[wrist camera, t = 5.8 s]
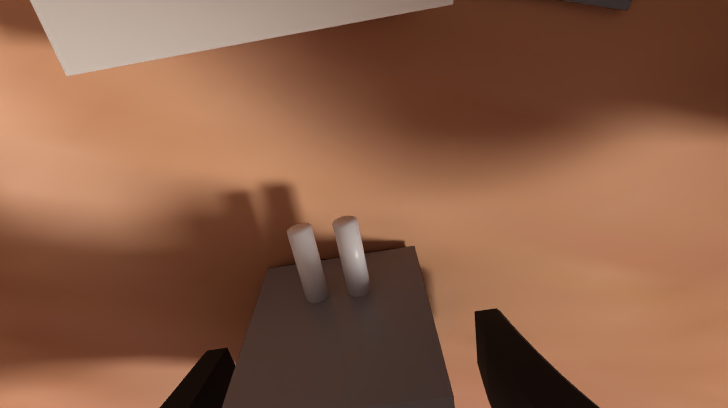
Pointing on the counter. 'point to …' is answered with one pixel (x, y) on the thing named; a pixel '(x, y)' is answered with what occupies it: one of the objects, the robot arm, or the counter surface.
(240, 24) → the power strip
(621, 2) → the plate
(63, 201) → the counter surface
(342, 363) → the charger
